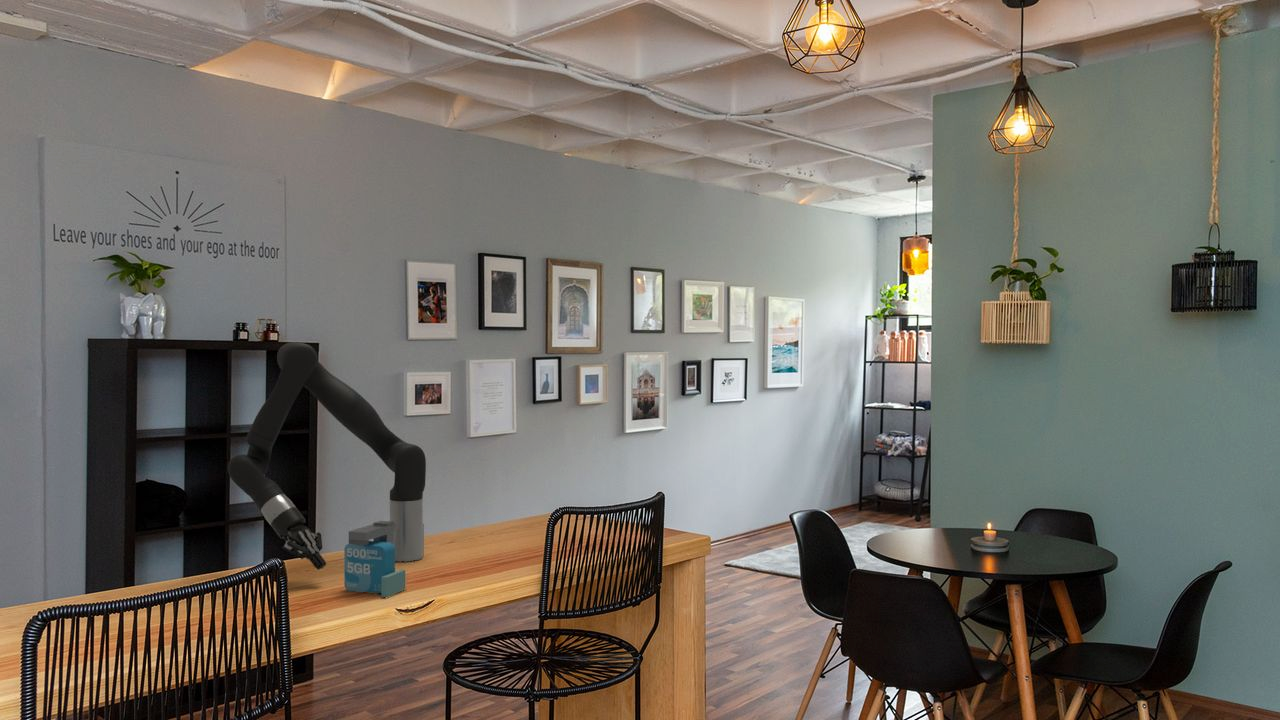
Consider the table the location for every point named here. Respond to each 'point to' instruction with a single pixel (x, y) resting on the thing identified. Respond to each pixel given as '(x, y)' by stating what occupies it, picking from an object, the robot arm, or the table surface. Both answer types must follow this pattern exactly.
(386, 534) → the lug bracket
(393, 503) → the robot arm
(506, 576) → the table surface
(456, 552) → the table surface
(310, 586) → the table surface
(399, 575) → the end catch
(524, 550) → the table surface
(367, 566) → the data package
